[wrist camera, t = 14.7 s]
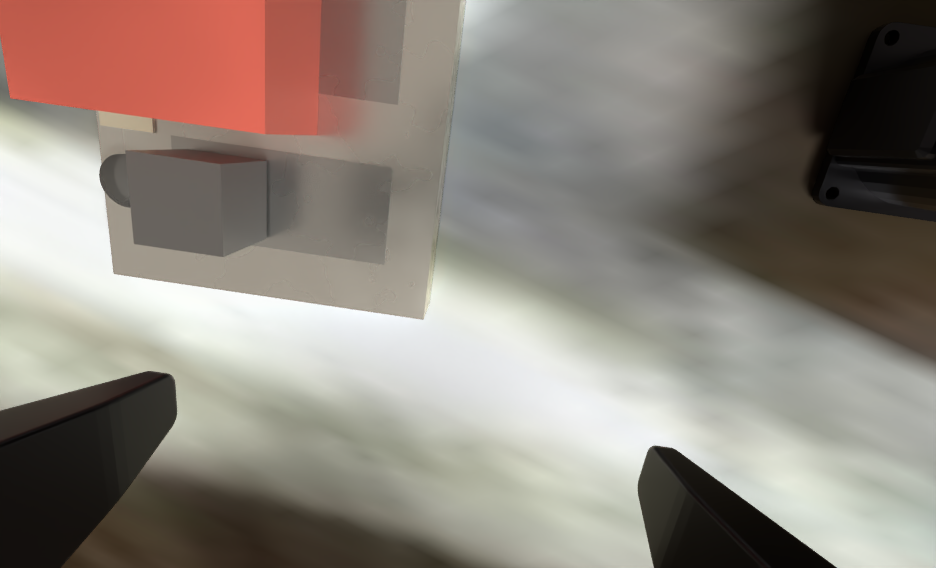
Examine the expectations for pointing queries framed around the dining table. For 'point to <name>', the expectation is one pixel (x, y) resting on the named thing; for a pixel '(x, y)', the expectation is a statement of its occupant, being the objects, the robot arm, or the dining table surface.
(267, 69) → the cap
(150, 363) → the dining table surface
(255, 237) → the block
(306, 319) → the dining table surface
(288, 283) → the panel
